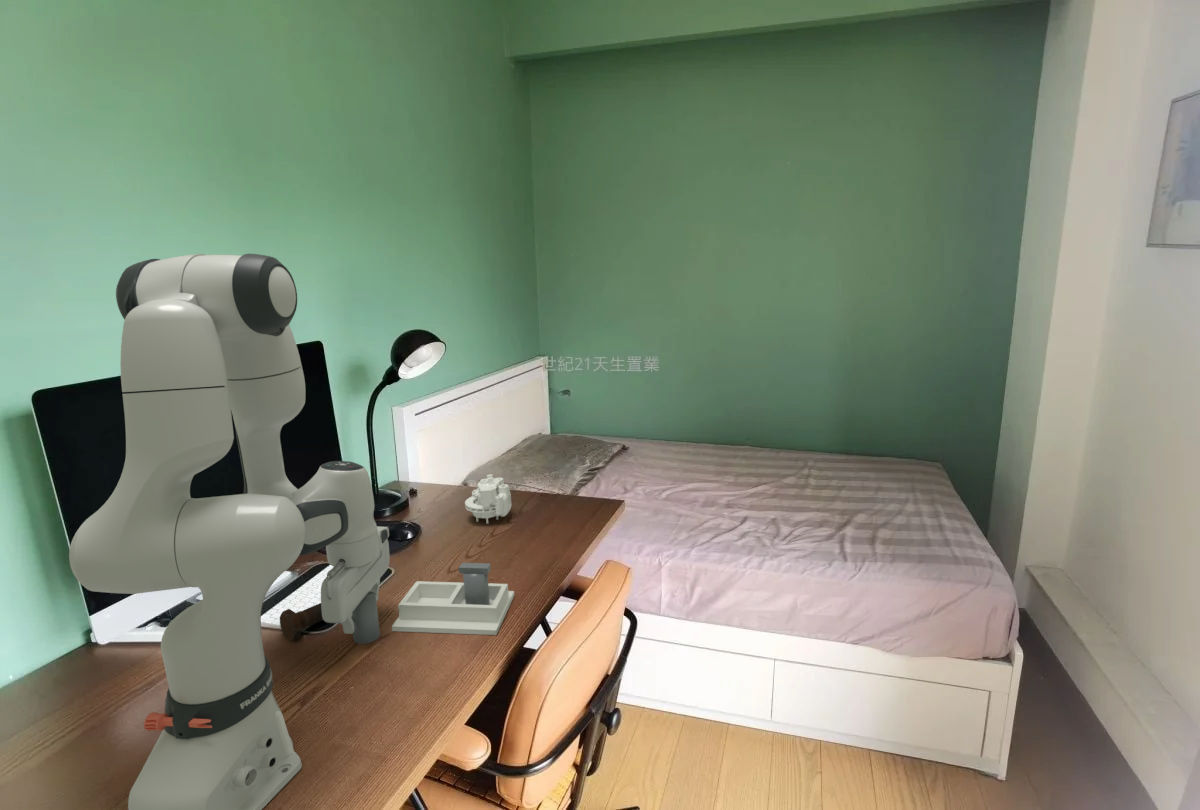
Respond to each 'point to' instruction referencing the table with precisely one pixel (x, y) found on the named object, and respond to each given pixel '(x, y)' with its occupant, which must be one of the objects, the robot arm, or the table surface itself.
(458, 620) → the housing
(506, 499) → the mechanical part
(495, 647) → the table surface
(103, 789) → the table surface
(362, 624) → the grey upright cylinder
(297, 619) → the bolt
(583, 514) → the table surface
